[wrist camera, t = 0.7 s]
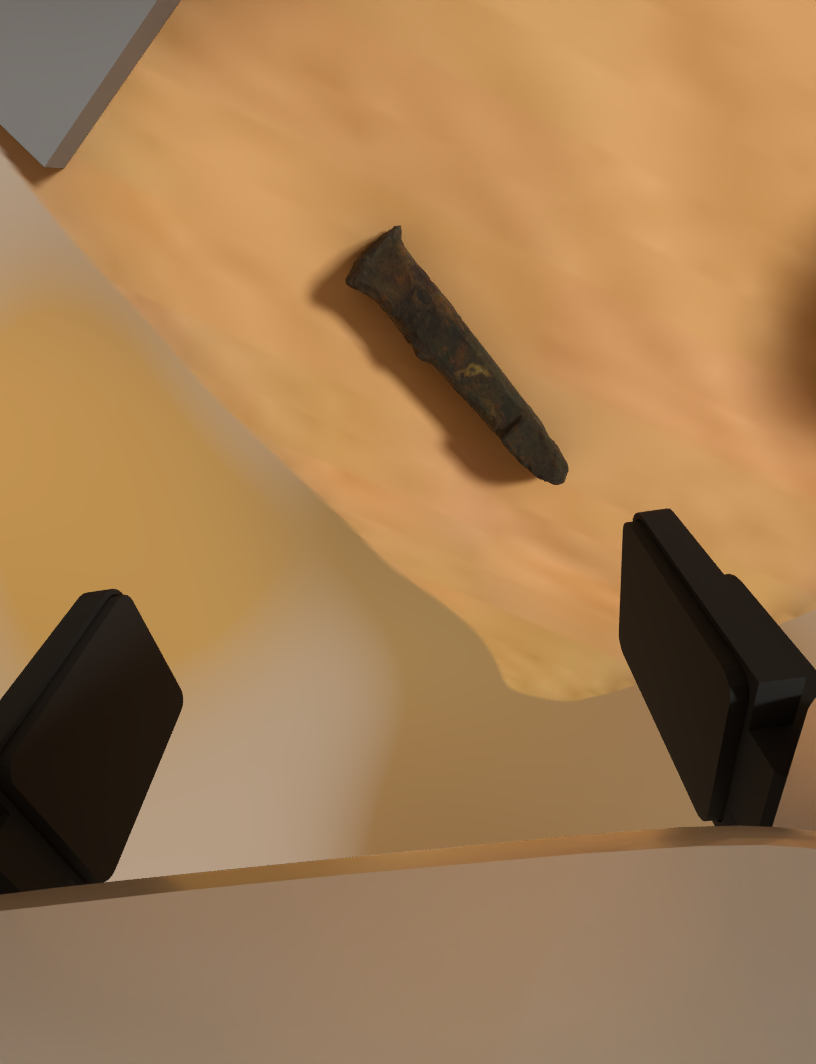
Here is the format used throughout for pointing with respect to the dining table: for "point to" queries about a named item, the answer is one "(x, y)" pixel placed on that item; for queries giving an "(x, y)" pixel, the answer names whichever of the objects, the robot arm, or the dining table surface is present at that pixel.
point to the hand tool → (454, 351)
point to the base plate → (68, 66)
